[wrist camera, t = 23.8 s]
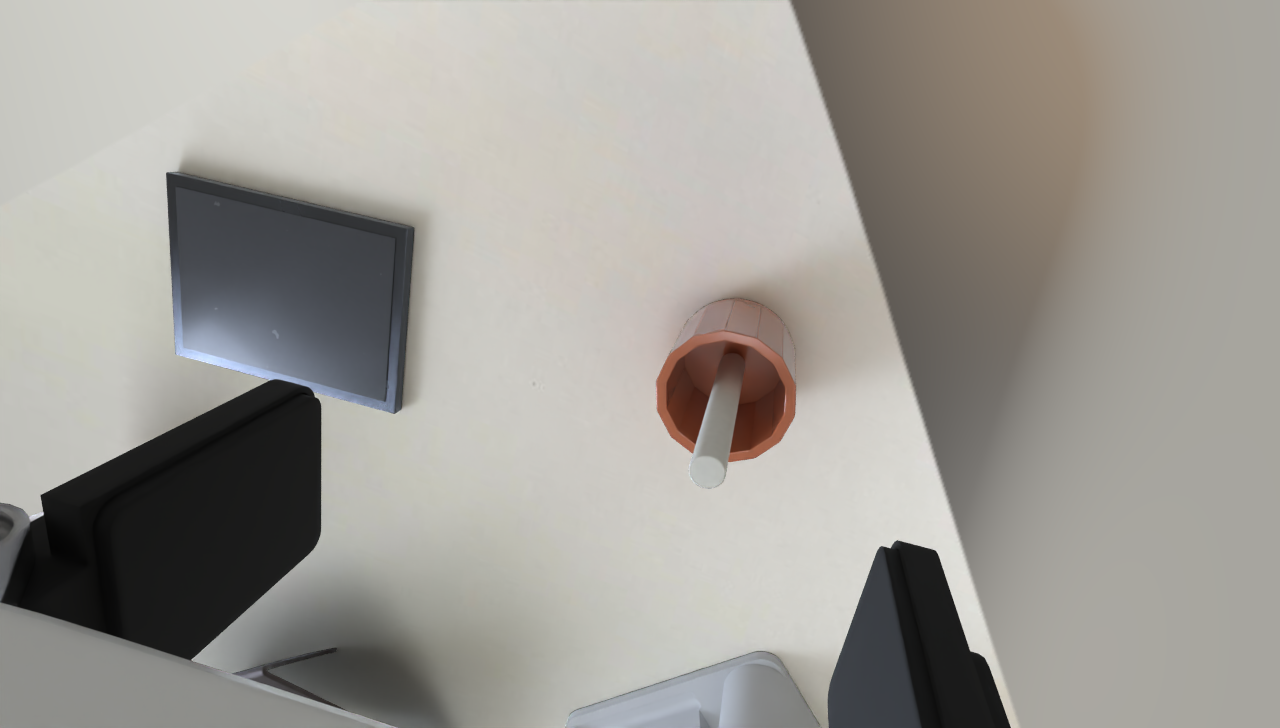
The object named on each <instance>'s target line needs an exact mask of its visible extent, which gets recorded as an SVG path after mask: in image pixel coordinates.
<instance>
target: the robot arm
mask: <svg viewBox="0 0 1280 728" xmlns="http://www.w3.org/2000/svg"><path fill="white" fill-rule="evenodd" d="M41 501H42V507H43V512H44V515H43V516H41V517H39V518H37V519H35V520H33V521H31V522H30V519H29V516H28V515H27V514H26V513H25V511H24V510H23V509H21V508H18V507H16V506H13V505H11V504H5V503H0V728H397V727H394V726H391V725H388V724H385V723H382V722H379V721H376V720H373V719H370V718H367V717H364V716H361V715H357V714H354V713H351V712H348V711H345V710H342V709H339V708H336V707H333V706H330V705H327V704H324V703H321V702H318V701H315V700H311V699H308V698H305V697H302V696H299V695H296V694H293V693H290V692H287V691H284V690H281V689H278V688H275V687H272V686H268V685H265V684H262V683H259V682H256V681H253V680H250V679H247V678H243V677H240V676H237V675H234V674H231V673H228V672H225V671H221V670H218V669H215V668H212V667H209V666H206V665H203V664H200V663H196V662H193V661H190V660H191V659H192V658H194V657H195V656H196V655H197V654H198V653H199V652H200V651H201V650H202V649H204V648H205V647H206V646H207V645H208V644H209V643H210V642H211V641H212V640H214V639H215V638H216V637H217V636H218V635H219V634H220V633H221V632H223V631H224V630H225V629H226V628H227V627H228V626H229V625H230V624H231V623H233V622H234V621H235V620H236V619H237V618H238V617H239V616H240V615H241V614H243V613H244V612H245V611H246V610H247V609H248V608H249V607H250V606H251V605H253V604H254V603H255V602H256V601H257V600H258V599H259V598H260V597H262V596H263V595H264V594H265V593H266V592H267V591H268V590H269V589H270V588H272V587H273V586H274V585H275V584H276V583H277V582H278V581H279V580H280V579H282V578H283V577H284V576H285V575H286V574H287V573H288V572H289V571H290V570H292V569H293V568H294V567H295V566H296V565H297V564H298V563H299V562H301V561H302V560H303V559H304V558H305V557H306V556H307V555H308V554H309V553H310V552H311V551H312V550H313V549H314V548H315V546H316V544H317V542H318V540H319V537H320V534H321V403H320V401H319V399H317V398H315V396H314V393H313V391H312V389H310V388H309V387H307V386H303V385H299V384H295V383H292V382H288V381H284V380H280V379H273V380H270V381H268V382H266V383H264V384H262V385H260V386H258V387H256V388H254V389H252V390H250V391H248V392H246V393H244V394H242V395H240V396H238V397H236V398H234V399H232V400H230V401H228V402H226V403H224V404H222V405H220V406H218V407H216V408H214V409H212V410H210V411H208V412H206V413H204V414H202V415H200V416H198V417H196V418H194V419H192V420H190V421H188V422H186V423H184V424H182V425H180V426H178V427H176V428H174V429H172V430H170V431H168V432H166V433H164V434H162V435H160V436H158V437H156V438H154V439H152V440H150V441H148V442H146V443H144V444H142V445H140V446H138V447H136V448H134V449H132V450H130V451H128V452H126V453H124V454H122V455H120V456H118V457H116V458H114V459H112V460H110V461H108V462H106V463H104V464H102V465H100V466H98V467H96V468H94V469H92V470H90V471H88V472H86V473H84V474H82V475H80V476H78V477H76V478H74V479H72V480H70V481H68V482H66V483H64V484H62V485H60V486H58V487H56V488H54V489H52V490H50V491H48V492H46V493H44V494H42V495H41ZM828 720H829V728H1011V727H1010V724H1009V721H1008V719H1007V716H1006V713H1005V710H1004V707H1003V704H1002V702H1001V699H1000V696H999V693H998V690H997V688H996V685H995V682H994V679H993V676H992V674H991V671H990V668H989V666H988V664H987V662H986V660H985V658H984V657H982V656H981V655H980V654H977V653H974V652H970V650H969V647H968V644H967V641H966V638H965V635H964V632H963V628H962V625H961V622H960V619H959V616H958V613H957V610H956V607H955V604H954V601H953V598H952V595H951V592H950V589H949V586H948V583H947V580H946V577H945V574H944V571H943V568H942V565H941V562H940V559H939V556H938V554H937V552H936V551H935V550H932V549H928V548H925V547H921V546H917V545H913V544H909V543H905V542H902V541H898V540H897V541H896V542H894V544H893V545H892V547H891V548H887V547H883V546H881V547H880V548H879V549H878V551H877V553H876V556H875V558H874V561H873V564H872V567H871V570H870V572H869V575H868V578H867V581H866V584H865V586H864V589H863V592H862V595H861V597H860V600H859V603H858V606H857V609H856V611H855V614H854V617H853V620H852V623H851V625H850V628H849V631H848V634H847V637H846V639H845V642H844V645H843V648H842V651H841V653H840V656H839V659H838V662H837V665H836V667H835V670H834V673H833V676H832V679H831V682H830V687H829V693H828Z"/></svg>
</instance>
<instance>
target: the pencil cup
mask: <svg viewBox="0 0 1280 728" xmlns="http://www.w3.org/2000/svg"><path fill="white" fill-rule="evenodd" d="M728 353H736V354H738V355H740V356H741V357H742V358H743V359H744V361H745V370H744V376H743V382H742V387H741V393H740V398H739V404H738V409H737V415H736V420H735V426H734V432H733V437H732V443H731V448H730V454H729V459H728V462H733V461H740V460H747V459H753V458H756V457H758V456H759V455H761V454H762V453H764V452H765V451H767V450H768V449H770V448H771V447H773V446H774V445H776V444H778V443H779V442H780V441H781V439H782V438H783V436H784V434H785V433H786V431H787V429H788V427H789V426H790V424H791V422H792V421H793V419H794V417H795V405H796V368H795V347H794V344H793V342H792V338H791V336H790V333H789V331H788V329H787V327H786V326H785V324H784V323H783V322H782V320H781V319H780V318H779V317H778V316H777V315H776V314H775V313H774V312H772V311H771V310H770V309H768V308H767V307H765V306H763V305H761V304H759V303H757V302H754V301H750V300H745V299H734V298H733V299H724V300H719V301H716V302H713V303H710V304H708V305H706V306H705V307H703V308H701V309H700V310H699V311H697V312H696V313H695V314H694V315H693V316H692V317H691V318H690V319H688V321H687V322H686V323H685V325H684V327H683V329H682V331H681V333H680V335H679V337H678V338H677V340H676V342H675V344H674V346H673V348H672V350H671V352H670V353H669V355H668V357H667V359H666V361H665V364H664V366H663V368H662V370H661V372H660V374H659V376H658V378H657V381H656V399H657V411H658V413H659V415H660V417H661V419H662V421H663V423H664V425H665V427H666V428H667V430H668V432H669V434H670V436H671V437H672V438H673V439H675V440H676V441H677V442H678V443H680V444H681V445H682V446H684V447H685V448H686V449H687V450H689V451H690V452H691V453H693V452H694V449H695V445H696V442H697V438H698V435H699V432H700V428H701V425H702V421H703V418H704V415H705V411H706V408H707V404H708V401H709V398H710V394H711V391H712V387H713V384H714V380H715V377H716V374H717V370H718V367H719V363H720V360H721V359H722V357H723V356H724V355H726V354H728Z"/></svg>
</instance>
